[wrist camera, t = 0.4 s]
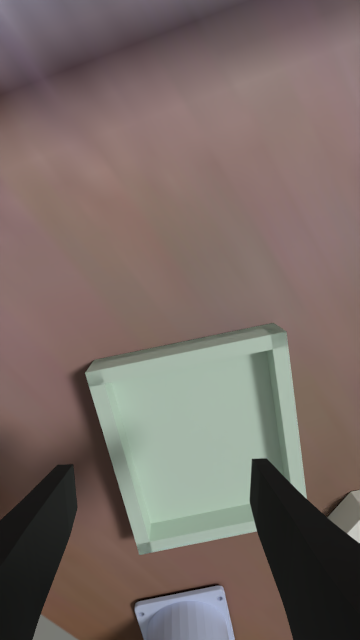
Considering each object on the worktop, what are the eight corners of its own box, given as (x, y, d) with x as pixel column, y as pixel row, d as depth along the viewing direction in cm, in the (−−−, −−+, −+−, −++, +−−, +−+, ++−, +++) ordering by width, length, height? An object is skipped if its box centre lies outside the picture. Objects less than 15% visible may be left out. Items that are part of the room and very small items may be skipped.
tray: (296, 495, 24) (309, 520, 22) (142, 526, 24) (139, 554, 22) (273, 322, 21) (286, 331, 18) (94, 359, 21) (85, 372, 18)
